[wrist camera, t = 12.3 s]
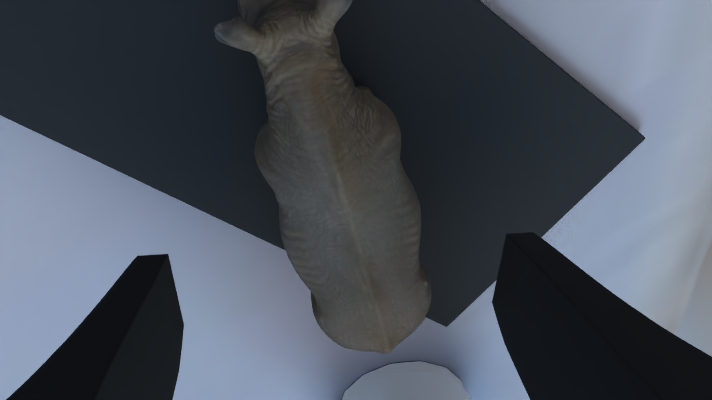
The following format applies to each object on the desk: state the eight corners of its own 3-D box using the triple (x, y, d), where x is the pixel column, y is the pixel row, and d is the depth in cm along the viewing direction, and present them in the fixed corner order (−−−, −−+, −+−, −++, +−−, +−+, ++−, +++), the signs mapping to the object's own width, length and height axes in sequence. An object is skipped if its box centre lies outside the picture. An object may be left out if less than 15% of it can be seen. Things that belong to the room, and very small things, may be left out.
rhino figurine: (330, -156, 14) (359, -145, 9) (421, 250, 22) (463, 376, 17) (175, -110, 14) (118, -76, 9) (320, 277, 22) (331, 408, 17)
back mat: (-51, 83, 17) (-58, 88, 16) (100, -312, 12) (95, -315, 12) (444, 320, 25) (446, 327, 24) (640, 133, 20) (646, 138, 20)
